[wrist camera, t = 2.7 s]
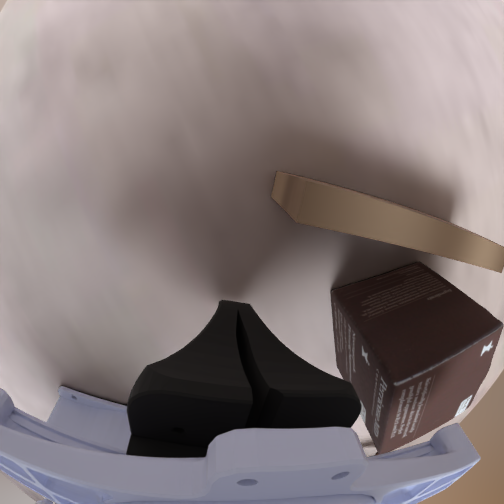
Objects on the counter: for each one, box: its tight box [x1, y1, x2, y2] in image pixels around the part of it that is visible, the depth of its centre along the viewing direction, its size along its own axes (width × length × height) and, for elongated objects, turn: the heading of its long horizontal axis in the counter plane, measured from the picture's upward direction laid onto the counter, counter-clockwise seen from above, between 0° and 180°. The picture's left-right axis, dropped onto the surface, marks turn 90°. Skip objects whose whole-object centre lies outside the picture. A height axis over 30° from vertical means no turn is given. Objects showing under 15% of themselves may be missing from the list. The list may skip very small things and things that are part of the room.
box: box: [331, 262, 503, 455], centre depth 12 cm, size 6×6×7 cm
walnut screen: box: [271, 171, 504, 273], centre depth 11 cm, size 11×1×5 cm, turn 79°
